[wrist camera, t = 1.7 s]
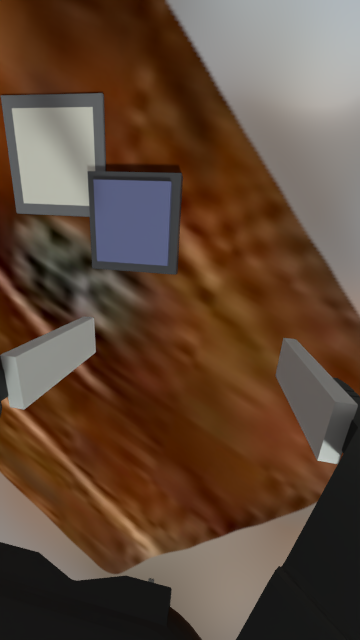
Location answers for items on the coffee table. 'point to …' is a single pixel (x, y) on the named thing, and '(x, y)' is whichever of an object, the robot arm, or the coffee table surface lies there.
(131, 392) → the coffee table surface
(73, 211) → the grey picture frame
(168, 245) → the ink pad
